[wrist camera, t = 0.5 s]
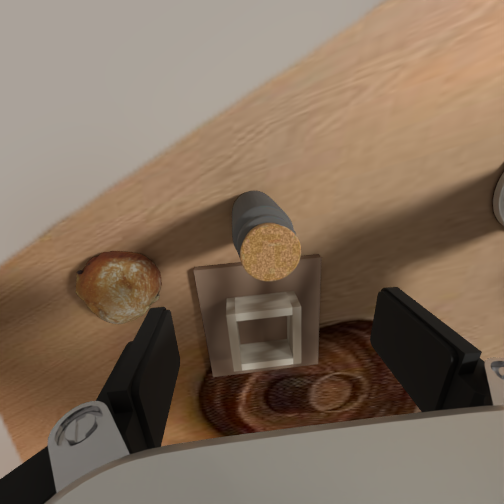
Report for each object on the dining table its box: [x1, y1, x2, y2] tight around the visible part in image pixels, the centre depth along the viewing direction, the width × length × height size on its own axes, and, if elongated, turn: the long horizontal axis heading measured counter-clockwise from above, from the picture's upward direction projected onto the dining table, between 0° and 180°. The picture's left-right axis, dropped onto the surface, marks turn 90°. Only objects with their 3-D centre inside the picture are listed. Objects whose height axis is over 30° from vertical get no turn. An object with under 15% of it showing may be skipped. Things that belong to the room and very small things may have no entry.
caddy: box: [194, 254, 321, 377], centre depth 36 cm, size 18×20×5 cm
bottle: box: [232, 191, 301, 281], centre depth 25 cm, size 6×6×15 cm
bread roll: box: [75, 251, 162, 324], centre depth 32 cm, size 10×10×8 cm
